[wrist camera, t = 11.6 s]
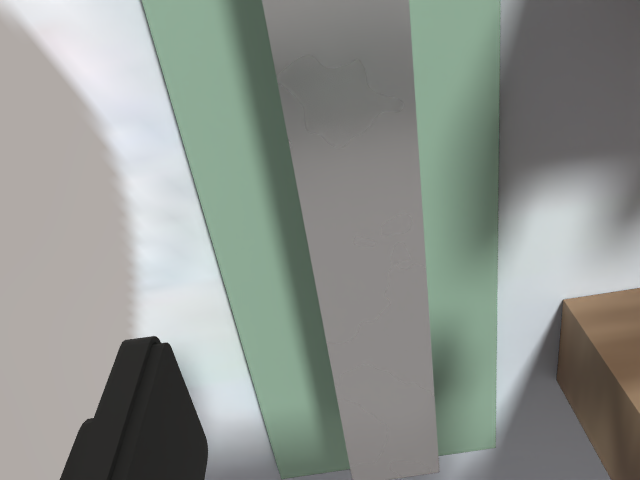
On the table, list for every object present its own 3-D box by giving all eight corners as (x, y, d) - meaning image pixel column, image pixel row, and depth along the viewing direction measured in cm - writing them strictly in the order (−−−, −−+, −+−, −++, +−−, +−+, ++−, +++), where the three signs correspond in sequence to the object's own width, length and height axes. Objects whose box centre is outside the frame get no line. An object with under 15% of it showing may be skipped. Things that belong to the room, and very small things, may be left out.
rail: (227, -227, 13) (214, -254, 10) (368, -252, 12) (391, -286, 10) (345, 417, 23) (353, 484, 20) (421, 405, 23) (439, 472, 20)
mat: (36, -380, 11) (28, -388, 11) (499, -470, 11) (505, -480, 11) (281, 471, 25) (281, 479, 25) (492, 440, 25) (495, 447, 24)
